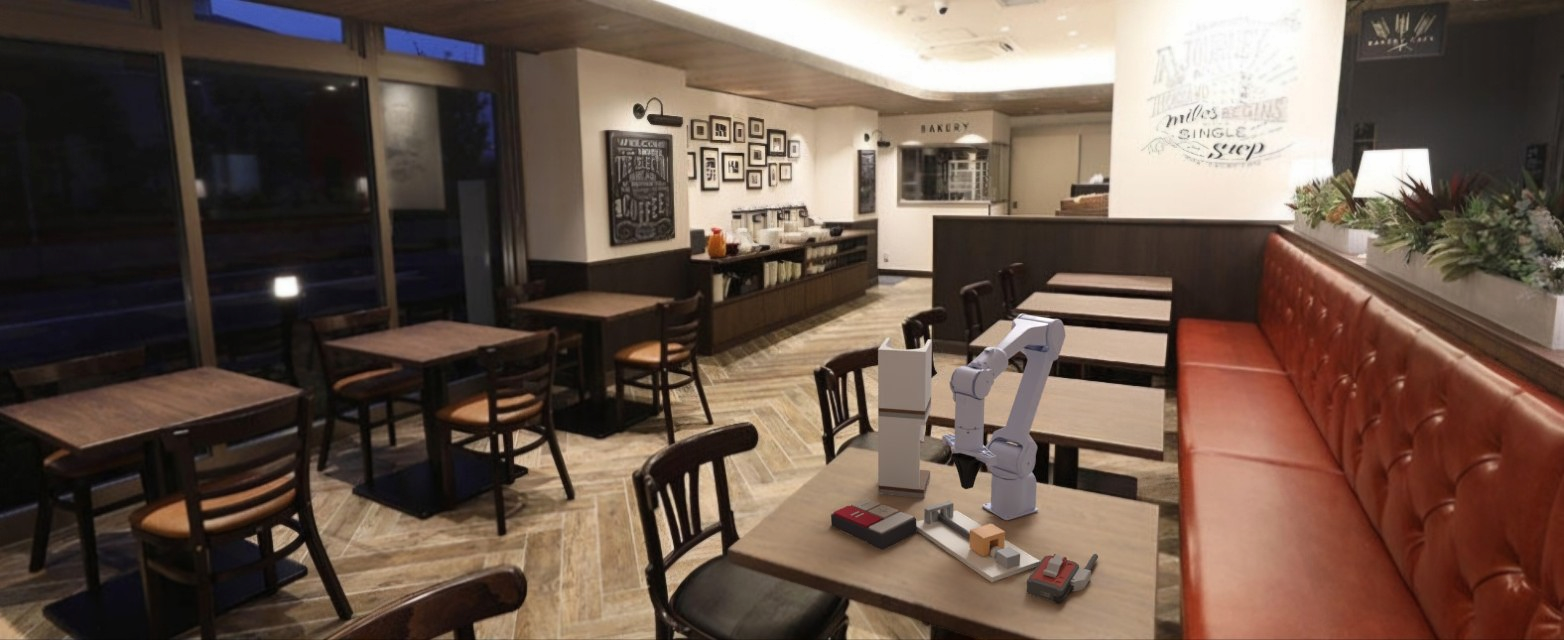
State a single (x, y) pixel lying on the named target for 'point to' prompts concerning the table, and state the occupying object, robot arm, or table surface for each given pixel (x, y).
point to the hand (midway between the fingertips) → (967, 487)
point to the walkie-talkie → (1058, 577)
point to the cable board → (955, 539)
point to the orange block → (986, 538)
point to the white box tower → (903, 418)
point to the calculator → (874, 523)
